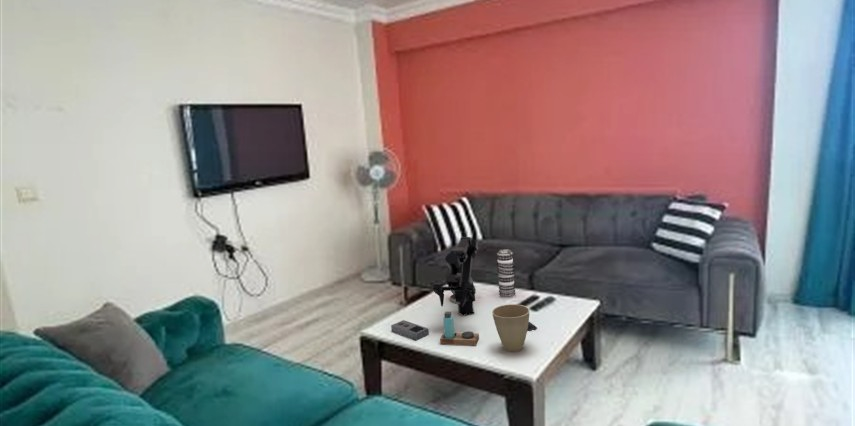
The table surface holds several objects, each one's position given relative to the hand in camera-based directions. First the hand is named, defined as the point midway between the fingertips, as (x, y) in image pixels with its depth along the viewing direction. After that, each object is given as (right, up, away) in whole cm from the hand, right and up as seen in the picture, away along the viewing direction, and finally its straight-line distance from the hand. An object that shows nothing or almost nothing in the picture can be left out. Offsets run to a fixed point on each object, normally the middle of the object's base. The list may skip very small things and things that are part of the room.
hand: (451, 306), depth 224 cm
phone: (+32, -10, +6) cm, 34 cm away
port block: (-19, -14, +8) cm, 24 cm away
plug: (-1, -14, -5) cm, 15 cm away
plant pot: (+24, -14, -16) cm, 32 cm away
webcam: (+8, -5, +45) cm, 46 cm away
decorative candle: (+31, -3, +44) cm, 54 cm away
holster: (+3, -14, -6) cm, 15 cm away
